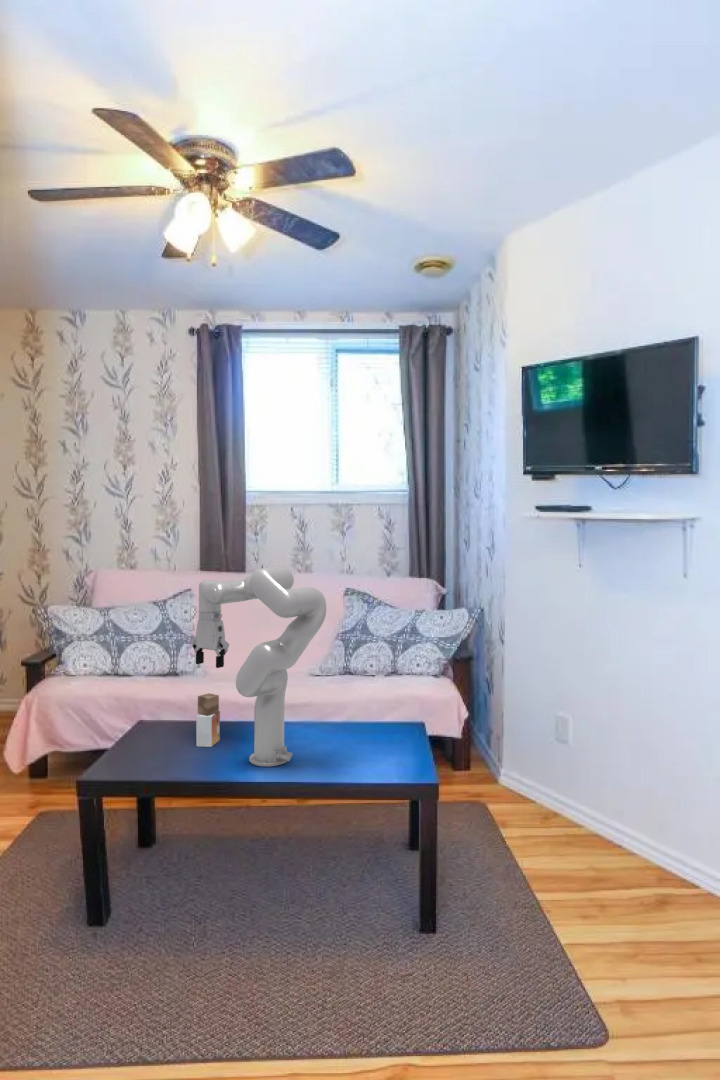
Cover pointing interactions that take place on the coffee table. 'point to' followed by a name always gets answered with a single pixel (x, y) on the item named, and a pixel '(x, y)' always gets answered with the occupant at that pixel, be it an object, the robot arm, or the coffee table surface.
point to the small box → (207, 730)
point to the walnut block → (208, 704)
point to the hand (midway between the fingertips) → (209, 665)
